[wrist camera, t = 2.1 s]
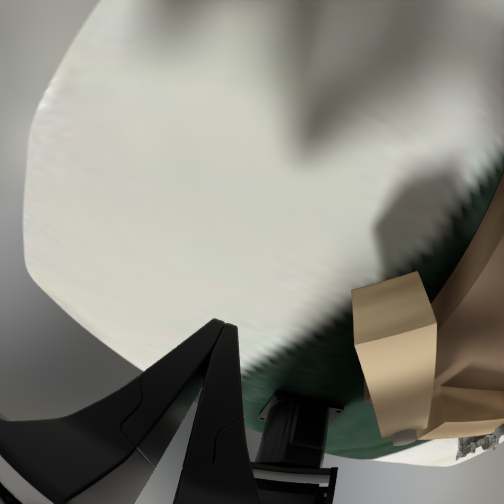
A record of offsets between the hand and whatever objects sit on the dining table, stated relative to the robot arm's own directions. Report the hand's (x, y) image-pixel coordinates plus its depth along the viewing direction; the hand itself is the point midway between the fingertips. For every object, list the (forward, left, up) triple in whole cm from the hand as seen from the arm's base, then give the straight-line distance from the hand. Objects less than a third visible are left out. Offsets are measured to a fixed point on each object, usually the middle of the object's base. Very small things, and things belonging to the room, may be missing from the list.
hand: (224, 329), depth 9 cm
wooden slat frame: (0, -19, -6) cm, 20 cm away
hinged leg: (-3, -9, -3) cm, 10 cm away
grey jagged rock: (-18, -38, -6) cm, 42 cm away
